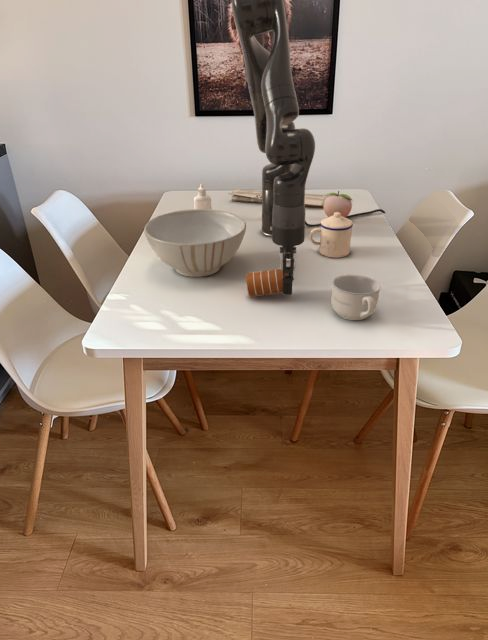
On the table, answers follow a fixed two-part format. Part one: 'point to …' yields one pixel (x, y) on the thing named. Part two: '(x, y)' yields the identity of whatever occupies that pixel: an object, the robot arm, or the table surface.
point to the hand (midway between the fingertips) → (287, 287)
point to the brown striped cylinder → (265, 282)
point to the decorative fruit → (337, 204)
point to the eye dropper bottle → (202, 199)
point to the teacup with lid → (334, 236)
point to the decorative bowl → (195, 239)
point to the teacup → (354, 296)
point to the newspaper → (257, 197)
